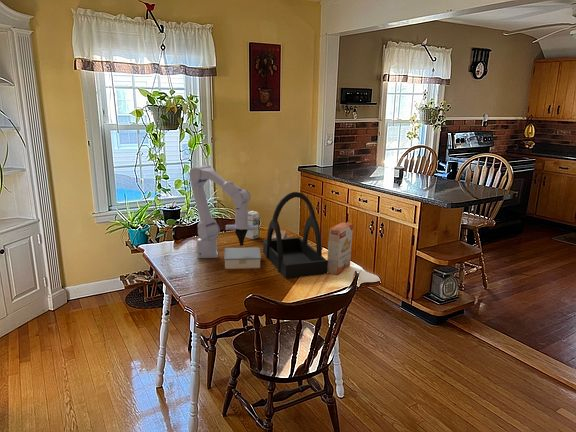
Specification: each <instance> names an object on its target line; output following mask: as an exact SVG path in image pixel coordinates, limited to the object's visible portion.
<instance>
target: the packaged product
mask: <svg viewBox="0 0 576 432" xmlns="http://www.w3.org/2000/svg"><path fill="white" fill-rule="evenodd" d="M280 231H281V238H282V239H286V238H290V236H289V235H287V231H286V230H284V229H283V230H282V229H280ZM275 239H276V234H275V231H273V234H272V240H275Z"/></svg>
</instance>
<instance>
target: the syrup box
mask: <svg viewBox="0 0 576 432" xmlns="http://www.w3.org/2000/svg"><path fill="white" fill-rule="evenodd" d="M248 225H254V226H258V230H257V231H255V230H248V231H247V233H246V235H245V238H246V239H250V240H254V239H257V238H260V211H259V212H258V211H255V210H251V211H248Z"/></svg>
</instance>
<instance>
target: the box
mask: <svg viewBox="0 0 576 432" xmlns="http://www.w3.org/2000/svg"><path fill="white" fill-rule="evenodd" d="M260 268H261V259H250V260H224V269H227V270H230V269H231V270H232V269H233V270H234V269H260Z"/></svg>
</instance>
